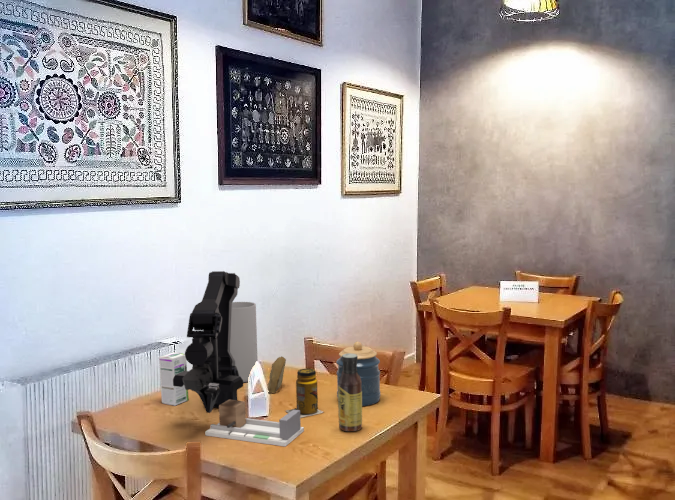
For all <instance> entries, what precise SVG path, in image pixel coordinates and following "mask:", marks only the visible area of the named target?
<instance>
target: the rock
mask: <svg viewBox="0 0 675 500" xmlns="http://www.w3.org/2000/svg"><path fill="white" fill-rule="evenodd" d="M286 361H287V358H285V357H284V356H279V357H277V358H276V359H275V360H274V362H273V363H272V365H271V369H270V373H269V376H268V378H269V381H268V382H267V383H268V384H267V390H268V391H269V392H268V393H271V394H276V393H277V392H278V390H279V389H280V388H281V387H282V384H283V379H284V373H285V367H286Z"/></svg>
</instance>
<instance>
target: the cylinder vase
mask: <svg viewBox="0 0 675 500" xmlns="http://www.w3.org/2000/svg"><path fill="white" fill-rule="evenodd" d="M257 329H258V327H257V305H256V303H255V302H251V301H233V302H232V311H231V340H230V353H231V354H232V356H233V358H234V360H235V366H236V367H237V370H238V372H239V376H241V378H242V379H243V383H248V377H249V374H250V371H251V369H252V367H253V366H254V365H255V362H256V361H258V337H257V336H258V334H257Z"/></svg>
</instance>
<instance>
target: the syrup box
mask: <svg viewBox="0 0 675 500" xmlns="http://www.w3.org/2000/svg"><path fill="white" fill-rule="evenodd" d="M158 359H159V360H158V361H159V363H158V364H159V375H160V376H159V377H160V379H159V380H160V390H161V391H160V392H161V393H160V394H161V404H165V405H169V406H174V407H175V406H177V405H180V404H182V403H185V402H188V401H189V390H186V389H185V386H184V385H183V386H182V387H178V386H173V378H174V376H175V375H176V374H179V373H181V372H183V371H188V365H187V363H188V362H187V360H186V358H185V353H183V352H171V353H167V354H165V355H161V356H159V357H158Z"/></svg>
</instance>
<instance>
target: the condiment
mask: <svg viewBox="0 0 675 500" xmlns="http://www.w3.org/2000/svg"><path fill="white" fill-rule="evenodd" d="M316 373H317V371H316V370H315V369H314V368H300V369H298V370H297V373H296V374H297V375H296V380H295V381H296V382H295V388H296V389H295V393H296V395H295V396H296V397H295V398H296V399H295V400H296V408H292V409H285V412H286V413H287V414H288V413H289V412H291V411H292V410H300V419H301V418H305V417H310V416H314V415H319V414H322V413H324V411H323V410H320V409H319V407H318V406H319V405H318V403H319V402H318V401H319V397H318V380H317V375H316Z"/></svg>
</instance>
